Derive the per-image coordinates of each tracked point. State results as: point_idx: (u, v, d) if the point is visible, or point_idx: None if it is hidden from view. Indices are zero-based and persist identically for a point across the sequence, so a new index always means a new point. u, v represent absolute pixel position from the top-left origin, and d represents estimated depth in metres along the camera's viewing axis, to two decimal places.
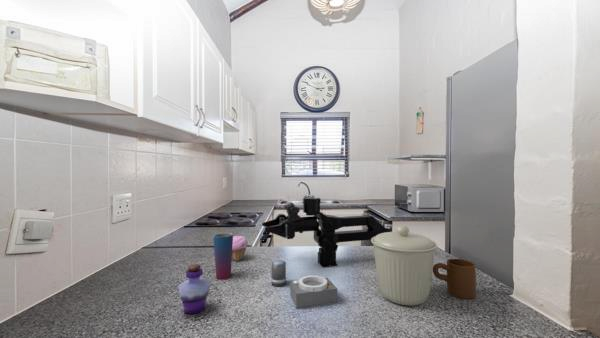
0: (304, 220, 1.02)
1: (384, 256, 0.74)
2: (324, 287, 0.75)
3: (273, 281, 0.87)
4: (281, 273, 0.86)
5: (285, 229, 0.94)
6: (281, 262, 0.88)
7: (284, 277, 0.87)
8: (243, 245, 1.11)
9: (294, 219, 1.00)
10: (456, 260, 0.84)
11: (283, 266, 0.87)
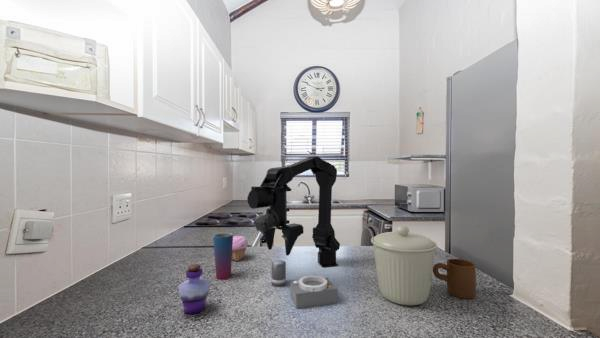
0: (277, 207, 0.86)
1: (384, 256, 0.74)
2: (324, 287, 0.75)
3: (273, 281, 0.87)
4: (281, 273, 0.86)
5: (294, 235, 0.83)
6: (281, 262, 0.88)
7: (284, 277, 0.87)
8: (243, 245, 1.11)
9: (277, 220, 0.85)
10: (456, 260, 0.84)
11: (283, 266, 0.87)
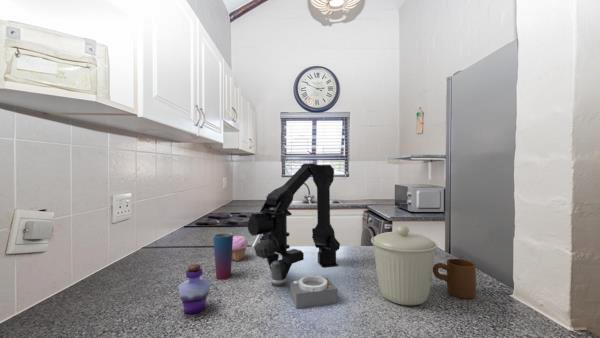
0: (278, 232, 0.86)
1: (384, 256, 0.74)
2: (324, 287, 0.75)
3: (273, 281, 0.87)
4: None
5: None
6: None
7: None
8: (243, 245, 1.11)
9: (277, 245, 0.85)
10: (456, 260, 0.84)
11: None
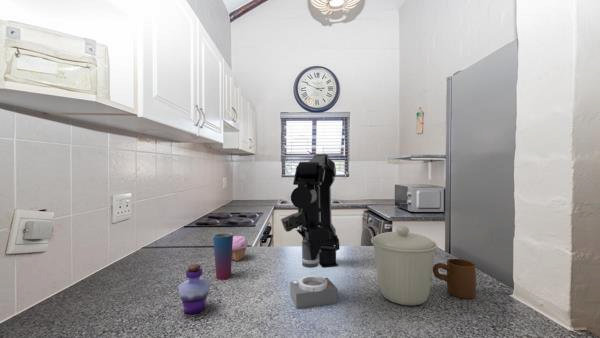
0: None
1: (384, 256, 0.74)
2: (324, 287, 0.75)
3: (302, 260, 0.77)
4: None
5: None
6: None
7: None
8: (243, 245, 1.11)
9: (304, 220, 0.75)
10: (456, 260, 0.84)
11: None
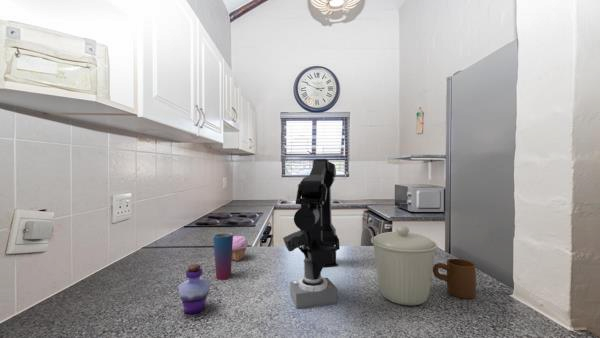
0: None
1: (384, 256, 0.74)
2: (324, 287, 0.75)
3: (304, 279, 0.77)
4: None
5: None
6: None
7: None
8: (243, 245, 1.11)
9: (306, 239, 0.75)
10: (456, 260, 0.84)
11: None
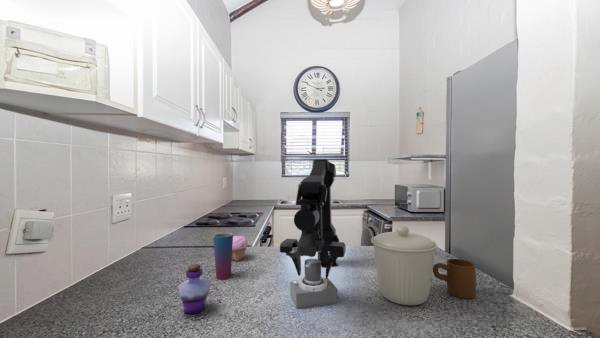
0: (318, 225, 0.76)
1: (384, 256, 0.74)
2: (324, 287, 0.75)
3: (311, 283, 0.75)
4: (320, 272, 0.77)
5: None
6: (315, 260, 0.78)
7: None
8: (243, 245, 1.11)
9: None
10: (456, 260, 0.84)
11: (320, 264, 0.77)
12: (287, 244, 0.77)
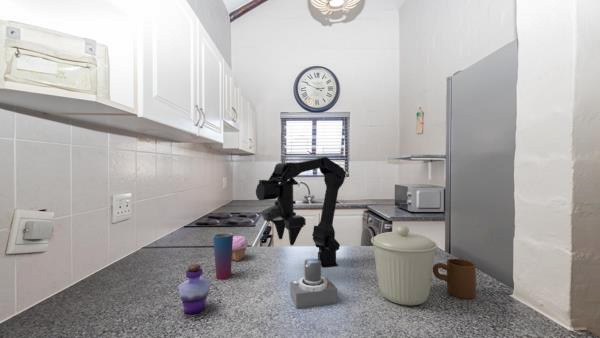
0: (283, 199, 0.91)
1: (384, 256, 0.74)
2: (324, 287, 0.75)
3: (311, 283, 0.75)
4: (320, 272, 0.77)
5: (295, 226, 0.87)
6: (315, 260, 0.78)
7: None
8: (243, 245, 1.11)
9: (282, 211, 0.90)
10: (456, 260, 0.84)
11: (320, 264, 0.77)
12: None
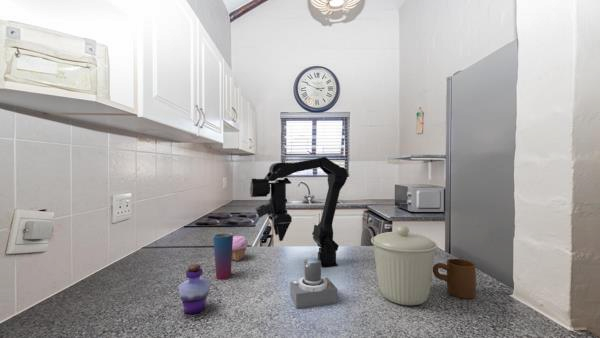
0: (274, 197, 0.97)
1: (384, 256, 0.74)
2: (324, 287, 0.75)
3: (311, 283, 0.75)
4: (320, 272, 0.77)
5: (281, 223, 0.92)
6: (315, 260, 0.78)
7: None
8: (243, 245, 1.11)
9: (272, 208, 0.96)
10: (456, 260, 0.84)
11: (320, 264, 0.77)
12: None
